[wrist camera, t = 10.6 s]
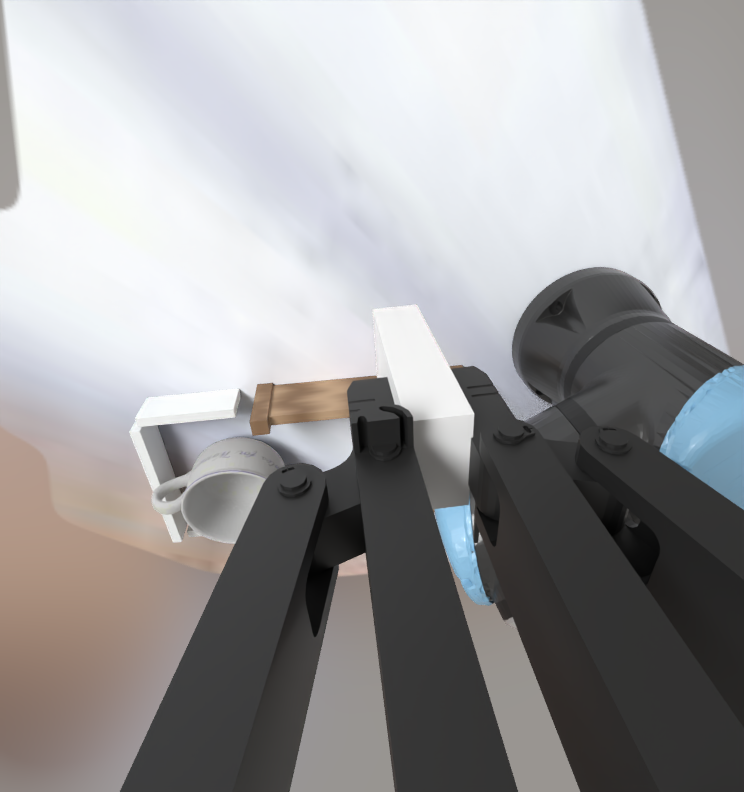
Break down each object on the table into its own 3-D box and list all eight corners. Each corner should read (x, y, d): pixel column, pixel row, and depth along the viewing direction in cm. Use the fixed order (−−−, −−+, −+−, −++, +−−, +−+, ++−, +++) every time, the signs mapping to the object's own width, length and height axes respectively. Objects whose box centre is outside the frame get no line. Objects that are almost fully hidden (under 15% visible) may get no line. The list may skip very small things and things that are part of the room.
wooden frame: (461, 365, 51) (481, 398, 45) (454, 497, 61) (469, 538, 55) (257, 384, 50) (249, 421, 44) (284, 516, 60) (281, 561, 54)
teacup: (298, 432, 53) (295, 479, 47) (282, 501, 59) (278, 552, 52) (169, 412, 50) (146, 460, 44) (165, 487, 56) (144, 540, 49)
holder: (238, 388, 50) (233, 409, 46) (268, 516, 60) (265, 540, 56) (137, 398, 49) (124, 419, 46) (184, 525, 59) (176, 551, 56)
